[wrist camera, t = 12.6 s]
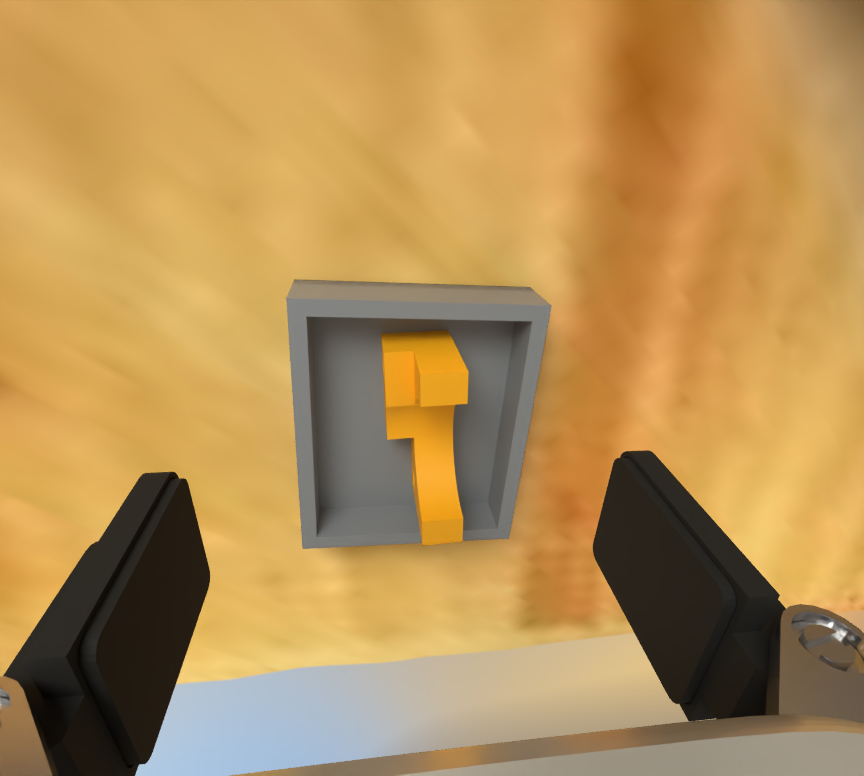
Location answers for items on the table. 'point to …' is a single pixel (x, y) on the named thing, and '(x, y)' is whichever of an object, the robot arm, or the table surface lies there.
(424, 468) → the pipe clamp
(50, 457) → the table surface
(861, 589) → the table surface
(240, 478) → the table surface
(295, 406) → the tray
